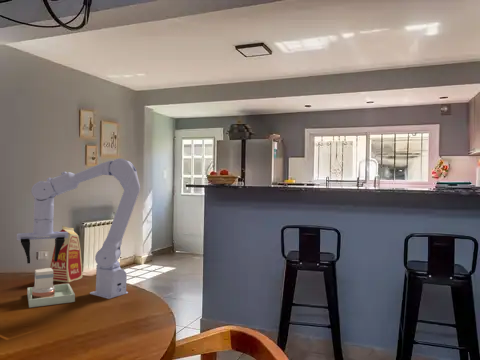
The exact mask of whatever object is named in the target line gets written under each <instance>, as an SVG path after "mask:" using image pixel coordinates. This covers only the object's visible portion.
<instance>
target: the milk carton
mask: <svg viewBox="0 0 480 360" xmlns="http://www.w3.org/2000/svg"><path fill="white" fill-rule="evenodd" d="M61 228H62V229H61V230H60V231H59V232H68V238H64V239H65V241H64V244H63V245H62V247H61V249H60V252H59V255H58V259H57V261H54V255H55V245H54V247H53V251H52V257H51V260H50V265H49V268H52V270H53V282H63V283H71V282H73V281H78V280H80V279H83V260H82V251H81V250H82V249H81V242H80V235H78V233H77V232H75V231H74V229H75V228H74V227H67V226H65V225H62V227H61Z"/></svg>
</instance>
